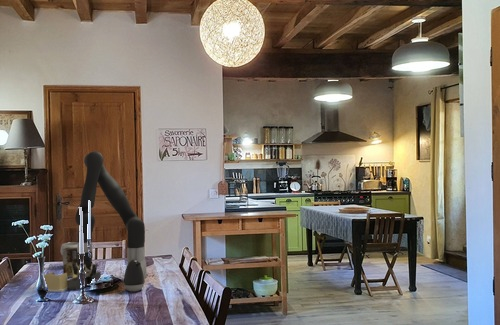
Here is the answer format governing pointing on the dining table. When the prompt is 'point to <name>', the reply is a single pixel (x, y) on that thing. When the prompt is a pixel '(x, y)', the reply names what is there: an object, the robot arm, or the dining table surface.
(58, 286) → the bracket board
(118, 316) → the dining table surface
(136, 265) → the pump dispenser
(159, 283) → the dining table surface
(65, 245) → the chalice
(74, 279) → the rail
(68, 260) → the coffee box
